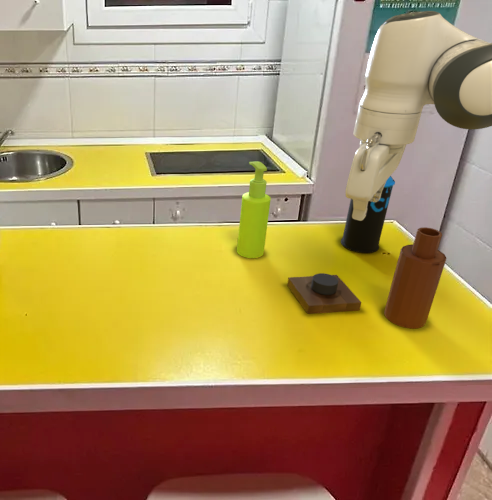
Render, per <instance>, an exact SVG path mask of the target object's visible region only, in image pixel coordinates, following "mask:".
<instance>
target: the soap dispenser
mask: <svg viewBox="0 0 492 500" xmlns="http://www.w3.org/2000/svg"><path fill="white" fill-rule="evenodd" d="M248 165H251V166H252V167H253V168H254V169H255V171H254V178H251V179H250V180H249V187H248V192H245V193H243V194H242V196H241V197H242V198H241V204H240V205H241V206H240V215H239V223H238V224H239V225H238V233H237V243H236V253H237V254H238V256H241V257H243V258H247V259H259V258H261V257H263V256H264V254H265V247H266V246H265V245H266V238H267V230H268V223H269V216H270V210H271V209H270V207H271V202H272V201H271V200H272V197H271V196H270V195H269V194H267V193H266V191H267V184H268V183H267V180H265V179H264V175H265V174H264V173H265V172H267V171H268V167H267V166H266V165H265V164H264V163H263V162H261V161H258V160H257V161H248Z"/></svg>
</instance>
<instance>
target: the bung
mask: <svg viewBox="0 0 492 500" xmlns="http://www.w3.org/2000/svg"><path fill="white" fill-rule="evenodd" d="M332 275H333V274H329V273H324V272H323V273H322V272H319V273H316V274H314V275H312V276H313V279H312V284H311V288H312V289H313V290H314V291H315V292H317V293H319V294H323V295H331V294H334V293H336V291H337V287H338V279H337V278H336V277H334V276H332Z"/></svg>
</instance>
